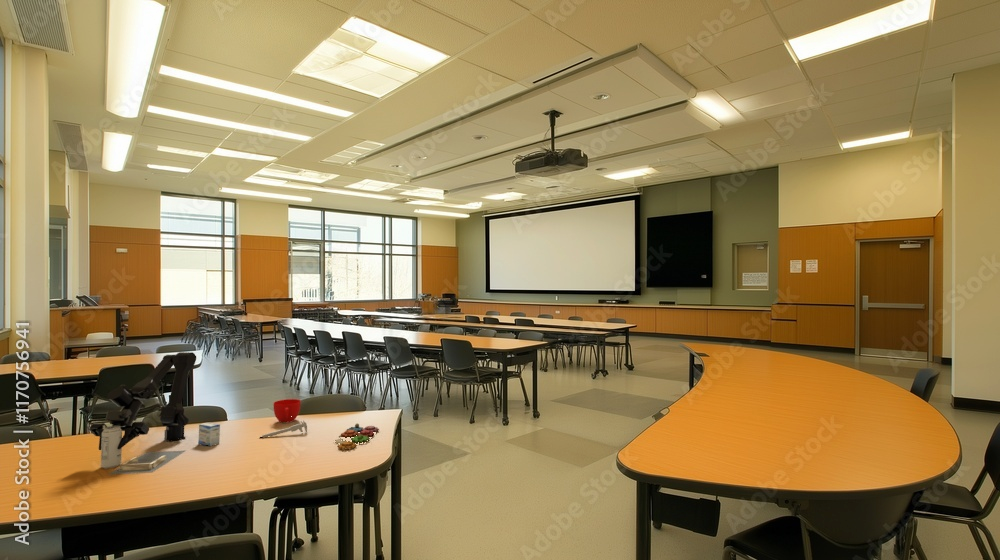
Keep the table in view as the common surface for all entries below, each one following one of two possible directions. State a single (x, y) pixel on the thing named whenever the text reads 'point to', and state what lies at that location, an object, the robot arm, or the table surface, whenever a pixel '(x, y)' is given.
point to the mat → (150, 461)
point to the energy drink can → (111, 447)
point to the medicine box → (209, 434)
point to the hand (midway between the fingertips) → (109, 449)
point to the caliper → (288, 429)
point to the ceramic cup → (287, 409)
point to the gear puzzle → (360, 437)
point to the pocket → (141, 464)
